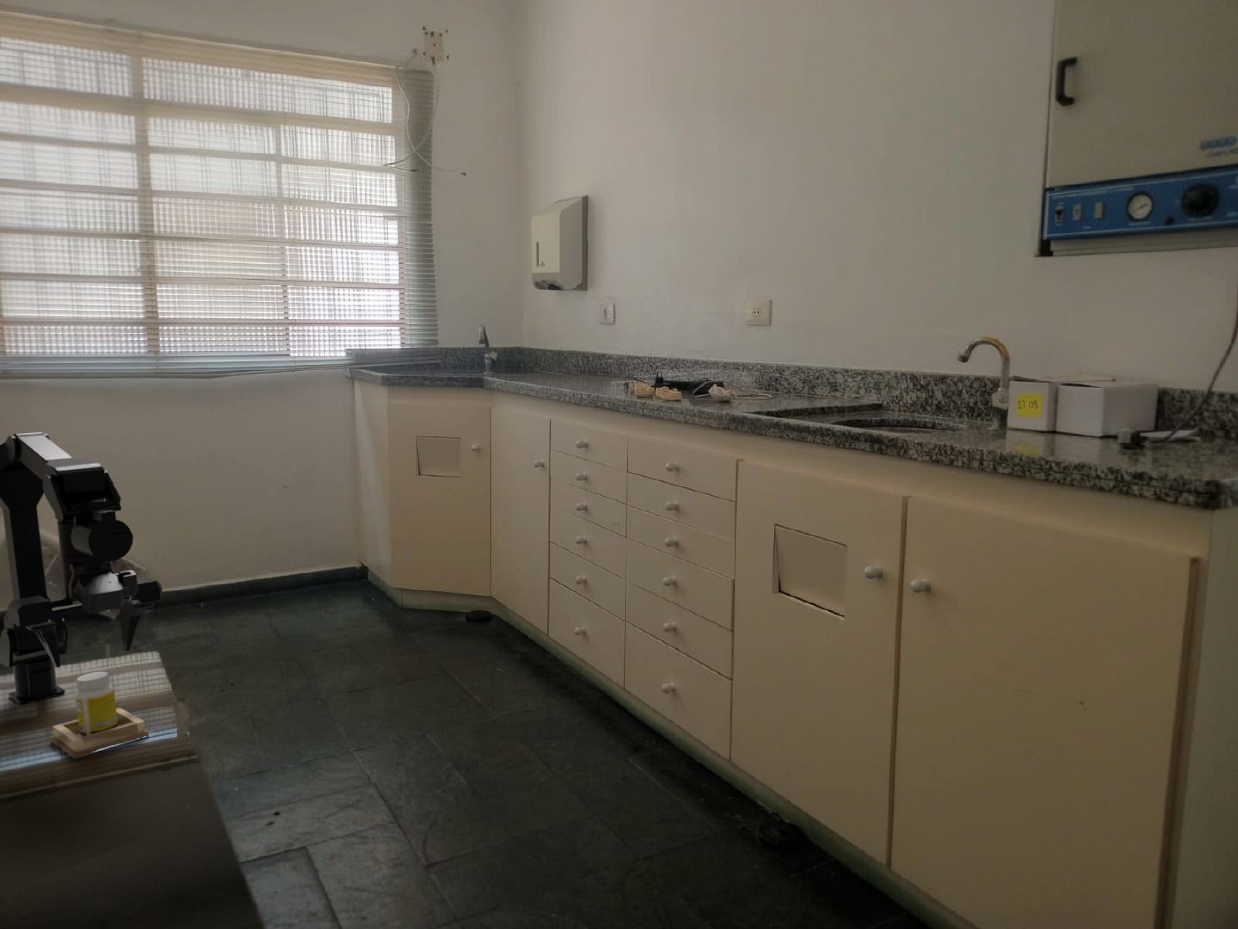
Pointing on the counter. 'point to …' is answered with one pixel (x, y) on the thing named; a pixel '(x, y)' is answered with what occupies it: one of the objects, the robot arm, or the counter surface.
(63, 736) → the jig cradle
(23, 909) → the counter surface
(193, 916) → the counter surface
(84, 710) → the supplement bottle
